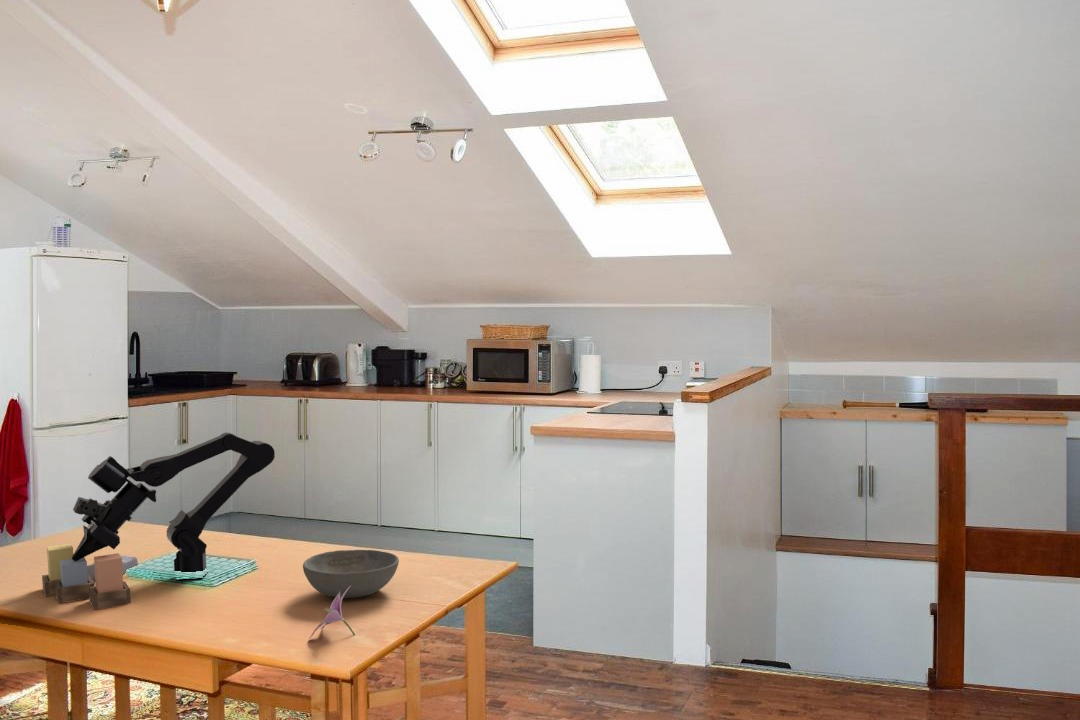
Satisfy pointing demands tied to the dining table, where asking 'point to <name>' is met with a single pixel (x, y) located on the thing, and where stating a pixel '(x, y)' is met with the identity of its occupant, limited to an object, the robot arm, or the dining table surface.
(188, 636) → the dining table surface
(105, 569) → the tan block
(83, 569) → the blue-grey block
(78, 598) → the walnut sockets
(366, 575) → the bowl
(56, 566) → the ochre block
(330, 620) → the lily
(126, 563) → the stone block
